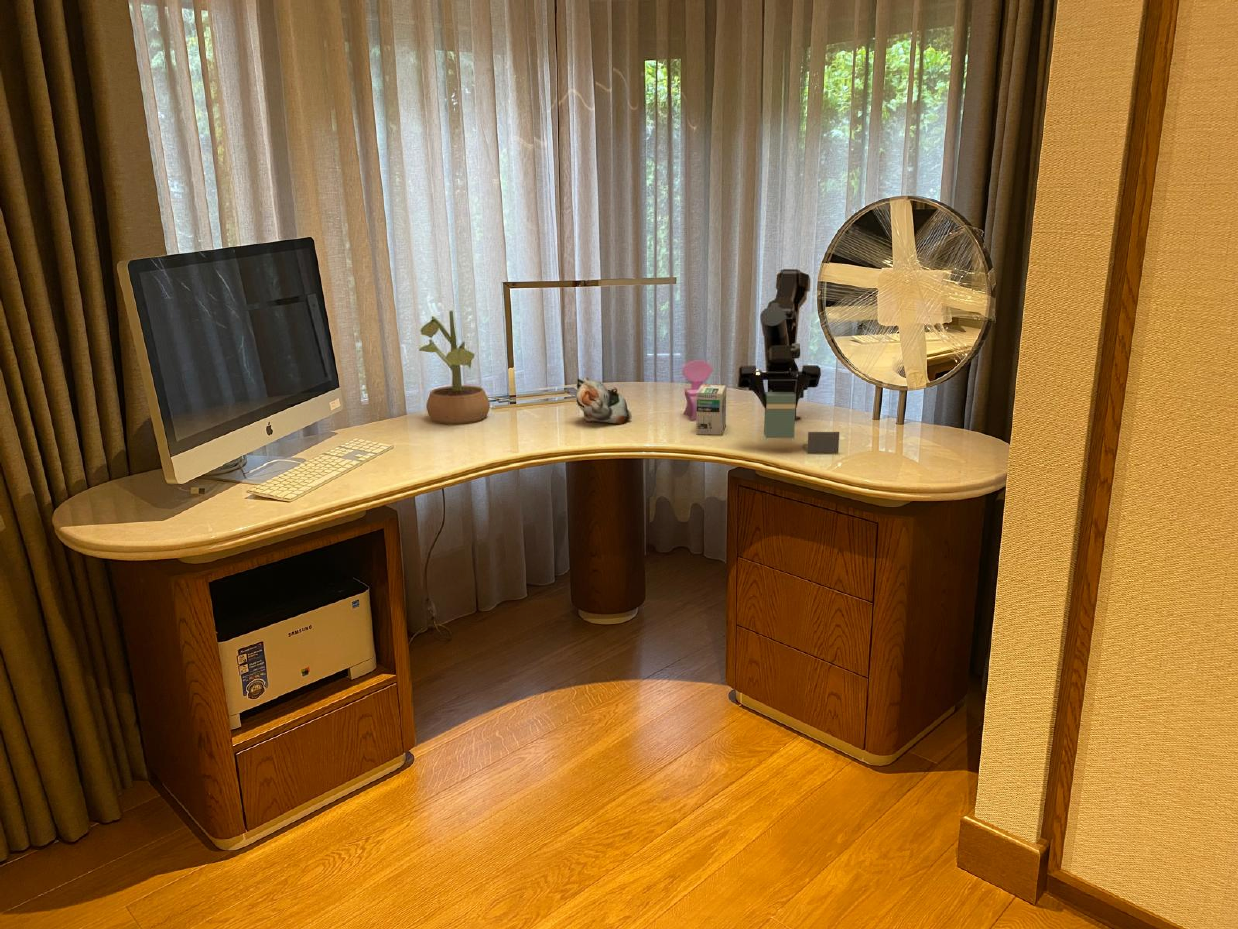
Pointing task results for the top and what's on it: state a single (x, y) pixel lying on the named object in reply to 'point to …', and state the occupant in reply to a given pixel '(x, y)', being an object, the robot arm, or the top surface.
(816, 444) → the bookend
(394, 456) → the top surface
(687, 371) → the toy chair
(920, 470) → the top surface
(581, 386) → the lucky cat figurine
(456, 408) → the potted plant
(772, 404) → the green striped box
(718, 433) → the light bulb box
